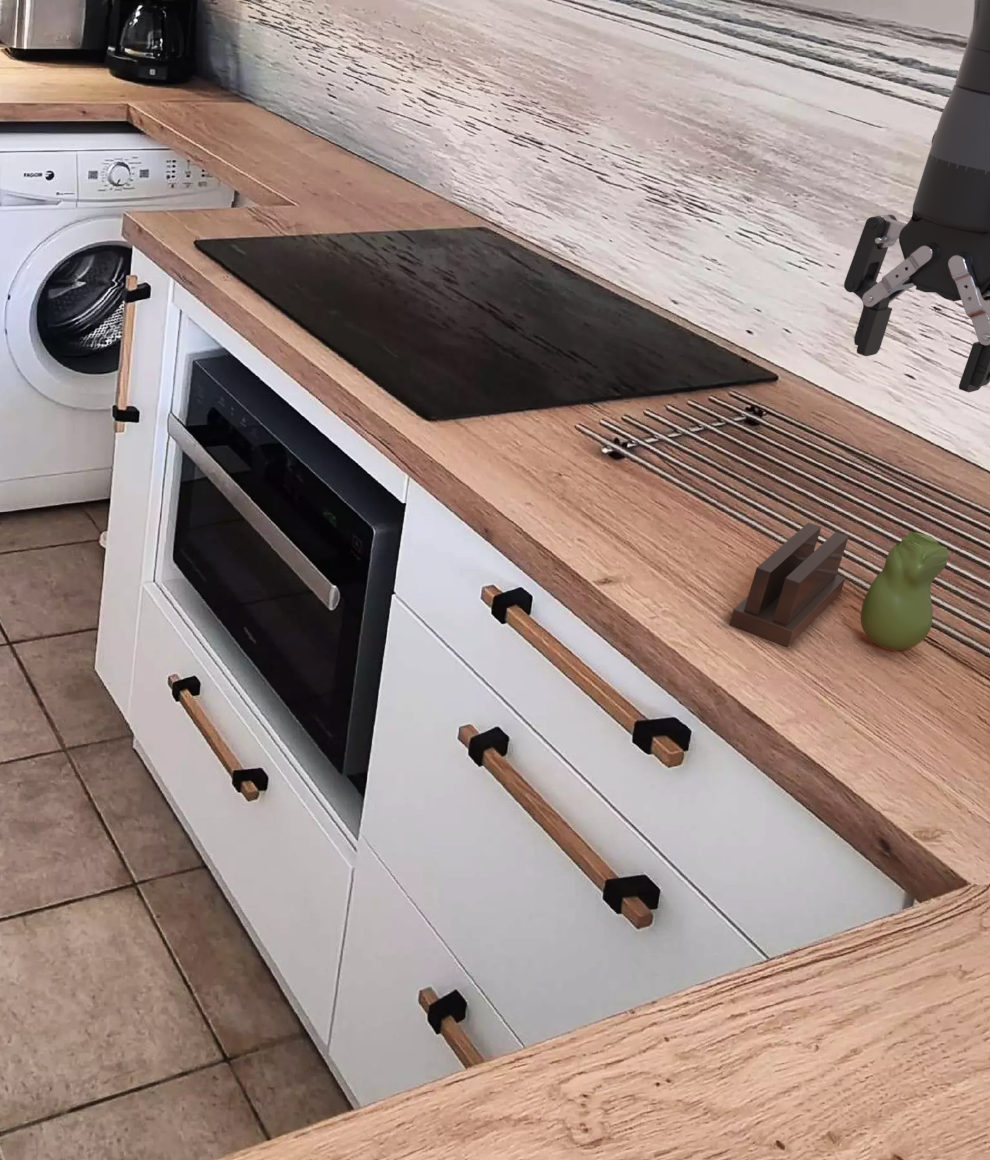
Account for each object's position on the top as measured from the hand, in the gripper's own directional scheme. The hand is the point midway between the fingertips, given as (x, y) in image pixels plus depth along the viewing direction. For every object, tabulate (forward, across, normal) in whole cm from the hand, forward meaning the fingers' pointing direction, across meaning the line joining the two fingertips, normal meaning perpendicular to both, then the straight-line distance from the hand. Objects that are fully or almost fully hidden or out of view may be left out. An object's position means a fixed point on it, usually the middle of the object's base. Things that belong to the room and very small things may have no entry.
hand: (916, 371), depth 116 cm
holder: (+23, +5, 0) cm, 24 cm away
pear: (+23, -4, -3) cm, 24 cm away
